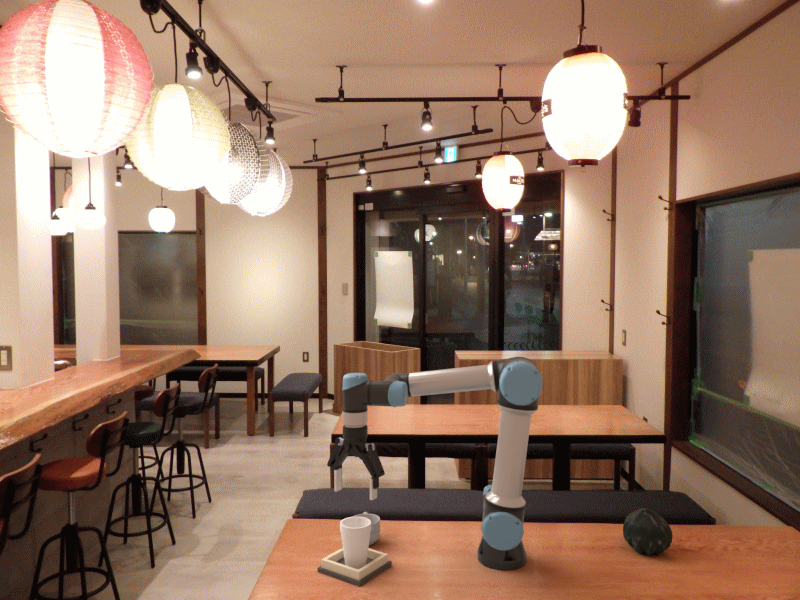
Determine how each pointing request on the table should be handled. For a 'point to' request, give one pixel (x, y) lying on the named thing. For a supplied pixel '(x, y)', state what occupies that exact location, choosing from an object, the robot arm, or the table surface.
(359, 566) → the foam cup
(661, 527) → the squash
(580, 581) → the table surface
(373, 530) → the teacup
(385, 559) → the tray
